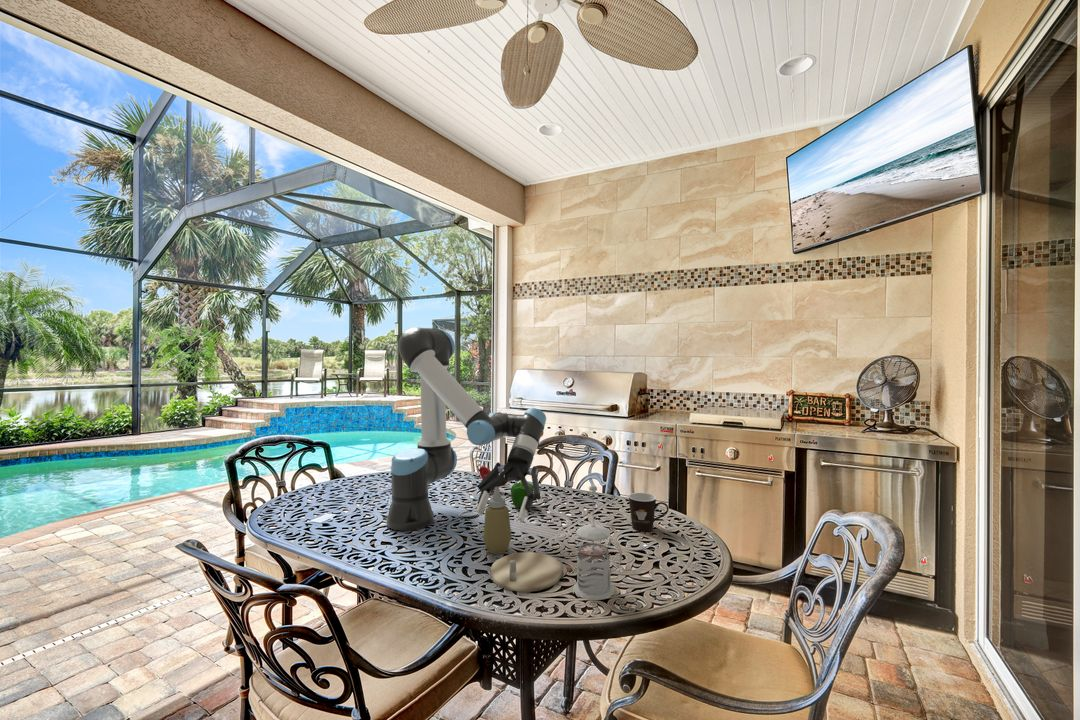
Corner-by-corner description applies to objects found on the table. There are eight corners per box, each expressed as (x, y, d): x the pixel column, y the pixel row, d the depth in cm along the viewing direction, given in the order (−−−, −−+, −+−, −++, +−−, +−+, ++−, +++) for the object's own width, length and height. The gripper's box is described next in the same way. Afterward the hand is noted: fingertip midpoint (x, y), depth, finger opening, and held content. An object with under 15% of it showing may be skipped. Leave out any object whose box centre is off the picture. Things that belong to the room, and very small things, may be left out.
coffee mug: (623, 528, 150) (623, 497, 150) (637, 520, 156) (637, 491, 156) (656, 538, 142) (656, 505, 142) (670, 530, 148) (670, 498, 148)
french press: (577, 576, 119) (577, 478, 118) (624, 583, 115) (623, 481, 115) (568, 596, 109) (568, 489, 109) (619, 604, 106) (618, 493, 105)
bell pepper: (531, 510, 167) (530, 482, 167) (508, 509, 169) (508, 481, 168) (535, 503, 175) (535, 476, 175) (514, 501, 177) (514, 475, 177)
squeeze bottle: (478, 553, 133) (477, 490, 132) (491, 542, 140) (490, 482, 140) (504, 558, 130) (503, 492, 129) (516, 546, 137) (515, 484, 137)
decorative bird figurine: (478, 489, 193) (478, 464, 193) (520, 492, 188) (519, 467, 188) (475, 491, 190) (475, 466, 190) (517, 494, 186) (517, 469, 185)
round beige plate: (477, 581, 116) (476, 557, 116) (512, 553, 133) (512, 531, 133) (543, 598, 109) (542, 572, 108) (572, 565, 125) (572, 543, 125)
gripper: (562, 463, 144) (543, 529, 131) (492, 456, 155) (467, 516, 142) (555, 449, 139) (534, 516, 126) (483, 443, 150) (457, 504, 137)
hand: (499, 516), depth 134 cm, fingers open, 13 cm apart
